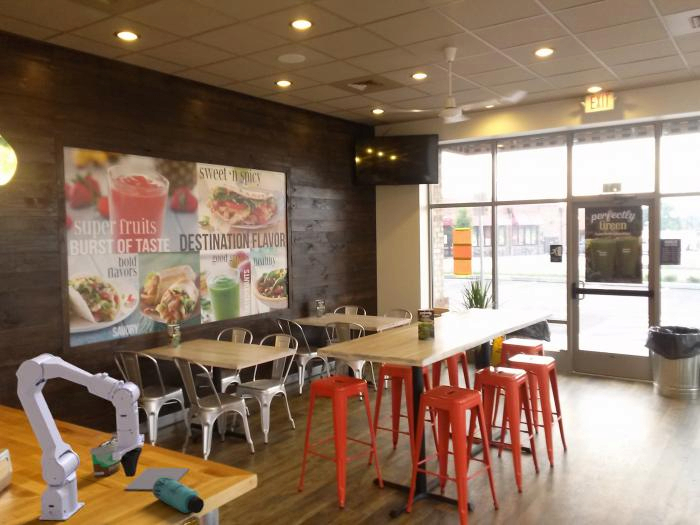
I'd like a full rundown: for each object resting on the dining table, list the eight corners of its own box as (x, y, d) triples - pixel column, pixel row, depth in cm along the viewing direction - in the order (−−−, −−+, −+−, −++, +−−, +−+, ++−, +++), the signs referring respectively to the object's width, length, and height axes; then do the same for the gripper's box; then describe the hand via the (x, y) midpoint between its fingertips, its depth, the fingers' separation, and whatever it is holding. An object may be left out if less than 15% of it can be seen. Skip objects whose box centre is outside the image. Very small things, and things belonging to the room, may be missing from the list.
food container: (109, 480, 186) (107, 448, 185) (91, 479, 187) (89, 448, 187) (131, 464, 198) (129, 435, 197) (114, 463, 199) (113, 434, 199)
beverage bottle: (172, 482, 176) (213, 502, 163) (156, 502, 172) (196, 523, 159) (160, 469, 173) (200, 488, 160) (144, 488, 169) (184, 509, 156)
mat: (169, 490, 177) (169, 489, 177) (124, 490, 178) (124, 488, 178) (188, 469, 192) (188, 468, 192) (147, 469, 194) (147, 467, 194)
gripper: (129, 437, 157) (132, 487, 158) (153, 419, 171) (155, 465, 172) (104, 436, 158) (106, 486, 159) (129, 419, 172) (132, 465, 173)
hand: (130, 475), depth 165 cm, fingers closed
